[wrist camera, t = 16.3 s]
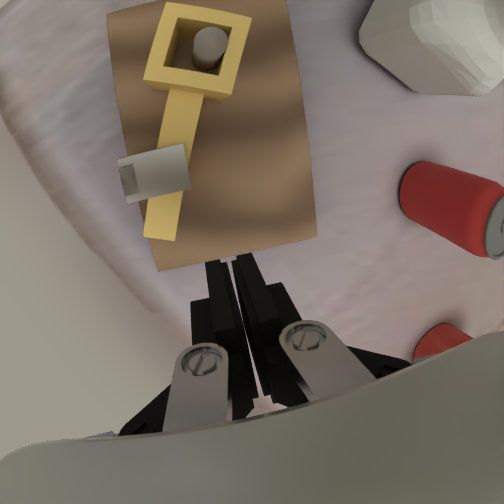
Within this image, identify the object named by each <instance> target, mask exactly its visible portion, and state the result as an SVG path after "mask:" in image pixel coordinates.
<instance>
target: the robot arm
mask: <svg viewBox="0 0 504 504" xmlns="http://www.w3.org/2000/svg"><path fill="white" fill-rule="evenodd" d="M236 257H237V260H233V261H231V262H232V268H233V273H234V278H235V283H236V288H237V293H238V298H239V303H240V309H241V313H240V310H239V306H238V302H237V299H236V295H235V291H234V288H233V284H232V280H231V276H230V273H229V269H228V265H227V262H224V263H221V262H220V259H218V260H214V261H209V262H205V267H206V275H207V283H208V290H209V298H206V299H201V300H196V301H191V303H190V307H191V330H192V346H191V347H188V348H187V349H185V350H184V351H183V352H182V353H181V354H180V355H179V356H178V358H177V360H176V362H175V367H174V372H173V377H172V382H171V384H170V385H169V386H168V387H167V388H166V389H165V390H164V391H162V392H161V393H160V394H159V395H158V396H157V397H156V398H155V399H154V400H152V401H151V402H150V403H149V404H148V405H147V406H146V407H145V408H143V409H142V410H141V411H140V412H139V413H138V414H137V415H136V416H134V417H133V418H132V419H131V420H130V421H129V422H127V423H126V424H125V425H124V427H123V428H122V429H121V431H120V433H117V434H114V432H113V431H110V432H106V433H102V434H98V435H94V436H90V437H86V438H79V439H62V440H53V441H46V442H41V443H36V444H31V445H28V446H25V447H22V448H19V449H17V450H15V451H13V452H11V453H9V454H8V455H6V456H5V457H4V458H3V459H2V460H1V461H0V504H504V331H498V332H493V333H490V334H486V335H482V336H480V337H477V338H474V339H472V340H469V341H466V342H464V343H462V344H460V345H458V346H455V347H453V348H451V349H448V350H446V351H444V352H442V353H439V354H434V355H430V356H425V357H421V358H416V359H414V360H413V363H409V362H407V361H405V360H402V359H399V358H395V357H390V356H386V355H382V354H378V353H373V352H369V351H365V350H361V349H357V348H353V347H349V346H346V345H345V344H344V343H343V342H342V341H341V340H340V339H339V338H338V337H337V336H336V335H335V334H334V333H333V331H332V330H331V329H330V328H329V327H328V326H326V325H325V324H323V323H321V322H318V321H313V320H302V319H301V317H300V315H299V313H298V311H297V309H296V308H295V306H294V304H293V302H292V300H291V298H290V297H289V295H288V293H287V291H286V289H285V287H284V286H283V284H282V283H281V282H279V283H275V284H270V285H266V284H265V281H264V279H263V277H262V275H261V272H260V270H259V268H258V266H257V264H256V261H255V259H254V257H253V255H252V253H247V254H242V255H238V256H236ZM241 314H242V317H241ZM242 319H243V321H242ZM243 323H244V325H243ZM244 328H245V329H244ZM245 331H246V333H245ZM246 335H247V338H246ZM247 339H248V342H249V346H250V349H251V353H252V356H253V360H254V363H255V367H256V370H257V374H258V377H259V381H260V384H261V387H262V391H263V394H264V396H267V395H271V399H272V402H273V404H274V403H279V404H282V405H284V406H287V408H286V409H282V410H278V411H274V412H270V413H266V414H262V415H257V416H253V417H249V418H245V417H246V416H247V415H248V414H249V413H250V412H251V410H252V409H253V408H254V403H253V399H254V398H258V397H259V396H258V391H257V386H256V381H255V377H254V372H253V367H252V362H251V358H250V353H249V348H248V343H247Z"/></svg>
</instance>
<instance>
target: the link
mask: <svg viewBox="0 0 504 504" xmlns="http://www.w3.org/2000/svg"><path fill="white" fill-rule="evenodd" d="M251 20H252V18H250V17H246V16H242V15H238V14H234V13H229V12H225V11H220V10H215V9H210V8H204V7H198V6H192V5H186V4H178V3H171V2H166V4H165V7H164V10H163V13H162V16H161V19H160V22H159V25H158V28H157V31H156V34H155V38H154V41H153V44H152V48H151V51H150V55H149V58H148V62H147V66H146V69H145V73H144V77H143V80H144V81H145V82H146V83H147V84H148V85H149V86H150V88H151V89H156V90H163V91H169V95H168V99H167V103H166V107H165V112H164V116H163V121H162V125H161V130H160V135H159V140H158V145H157V149H158V148H163V147H167V146H171V145H176V144H180V143H183V144H184V149H185V155H186V160H187V165H188V164H189V160H190V155H191V150H192V145H193V141H194V136H195V131H196V127H197V123H198V118H199V114H200V110H201V106H202V101H203V97H205V98H210V99H215V100H220V101H223V100H225V99H226V98H227V97H229V96H230V95H231V94H232V90H233V86H234V82H235V79H236V75H237V71H238V67H239V63H240V60H241V56H242V52H243V49H244V45H245V41H246V38H247V34H248V31H249V27H250V24H251ZM206 27H217V28H219V29H221V30H223V31H224V32H225V33H226V35H227V37H228V46H227V48H226V50H225V52H224V54H223V56H222V57H221V59H220V61H219V63H218V67H217V71H216V74H215V75H212V74H207V73H201V72H196V71H190V70H184V69H178V68H171V65H172V61H173V58H174V54H175V51H176V47H177V44H178V40H179V38H183V39H189V40H194V38H195V36H196V34H197V33H198V32H199V31H200V30H202V29H204V28H206ZM182 196H183V191H179V192H174V193H170V194H166V195H161V196H157V197H153V198H149V199H148V204H147V211H146V219H145V226H144V234H143V237H149V238H156V239H163V240H170V241H175V237H176V230H177V224H178V218H179V213H180V207H181V201H182Z"/></svg>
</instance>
